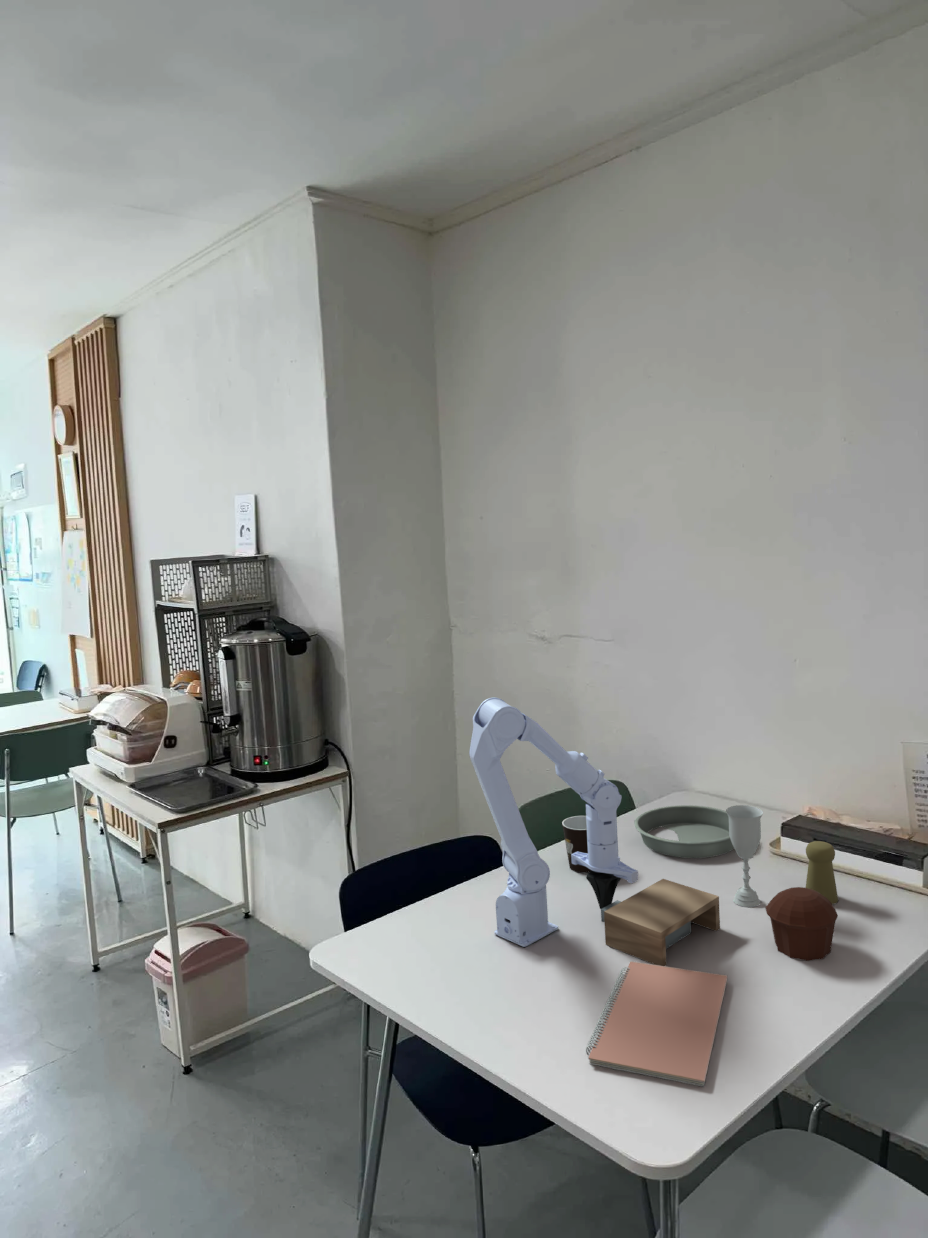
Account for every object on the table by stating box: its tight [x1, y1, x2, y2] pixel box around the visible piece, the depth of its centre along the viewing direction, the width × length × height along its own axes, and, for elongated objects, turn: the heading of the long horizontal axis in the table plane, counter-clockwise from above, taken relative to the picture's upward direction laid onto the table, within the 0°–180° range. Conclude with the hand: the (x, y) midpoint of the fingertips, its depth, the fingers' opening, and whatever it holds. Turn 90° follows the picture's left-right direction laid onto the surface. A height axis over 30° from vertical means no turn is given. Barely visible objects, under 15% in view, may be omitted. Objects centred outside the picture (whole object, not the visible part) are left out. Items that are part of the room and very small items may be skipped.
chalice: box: [725, 804, 764, 908], centre depth 163 cm, size 7×7×18 cm
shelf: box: [603, 878, 721, 967], centre depth 152 cm, size 18×12×6 cm, turn 132°
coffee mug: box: [561, 815, 591, 874], centre depth 187 cm, size 12×9×10 cm
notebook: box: [585, 961, 728, 1088], centre depth 128 cm, size 27×17×2 cm, turn 157°
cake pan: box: [633, 804, 735, 859], centre depth 197 cm, size 25×25×4 cm
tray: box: [600, 899, 692, 950], centre depth 156 cm, size 9×15×4 cm, turn 42°
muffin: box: [765, 886, 839, 962], centre depth 145 cm, size 12×11×10 cm
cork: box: [805, 840, 839, 906], centre depth 163 cm, size 6×6×11 cm
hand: (605, 908), depth 162 cm, fingers closed
